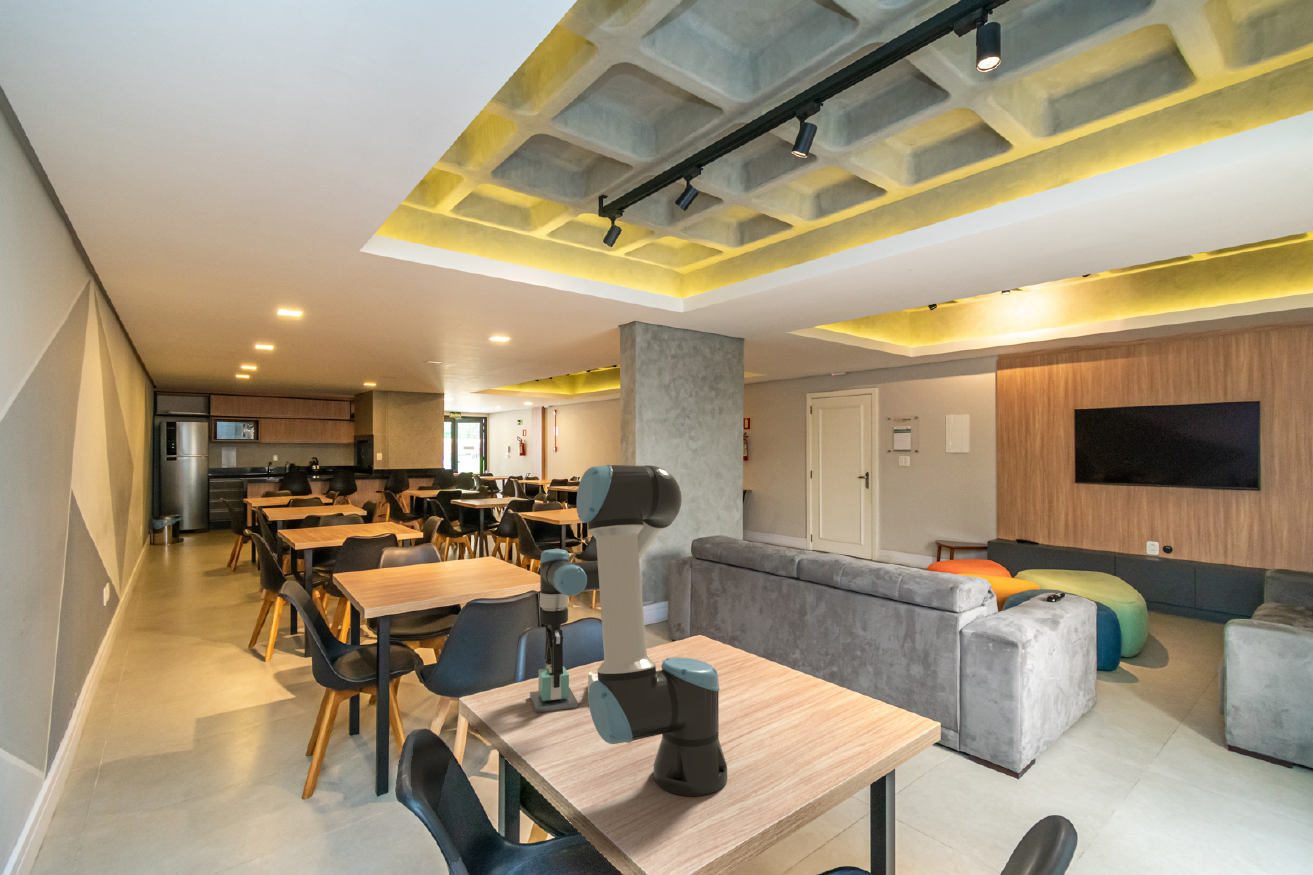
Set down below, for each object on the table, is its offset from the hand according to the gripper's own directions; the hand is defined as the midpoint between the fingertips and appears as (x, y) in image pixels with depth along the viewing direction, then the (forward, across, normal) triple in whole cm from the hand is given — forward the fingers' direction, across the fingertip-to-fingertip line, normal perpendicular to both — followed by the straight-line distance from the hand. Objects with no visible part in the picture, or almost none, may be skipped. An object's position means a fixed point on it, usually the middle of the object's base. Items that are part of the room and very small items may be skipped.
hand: (553, 693), depth 163 cm
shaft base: (+2, 0, 0) cm, 2 cm away
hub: (0, 0, 0) cm, 0 cm away
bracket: (+3, +2, -14) cm, 15 cm away
